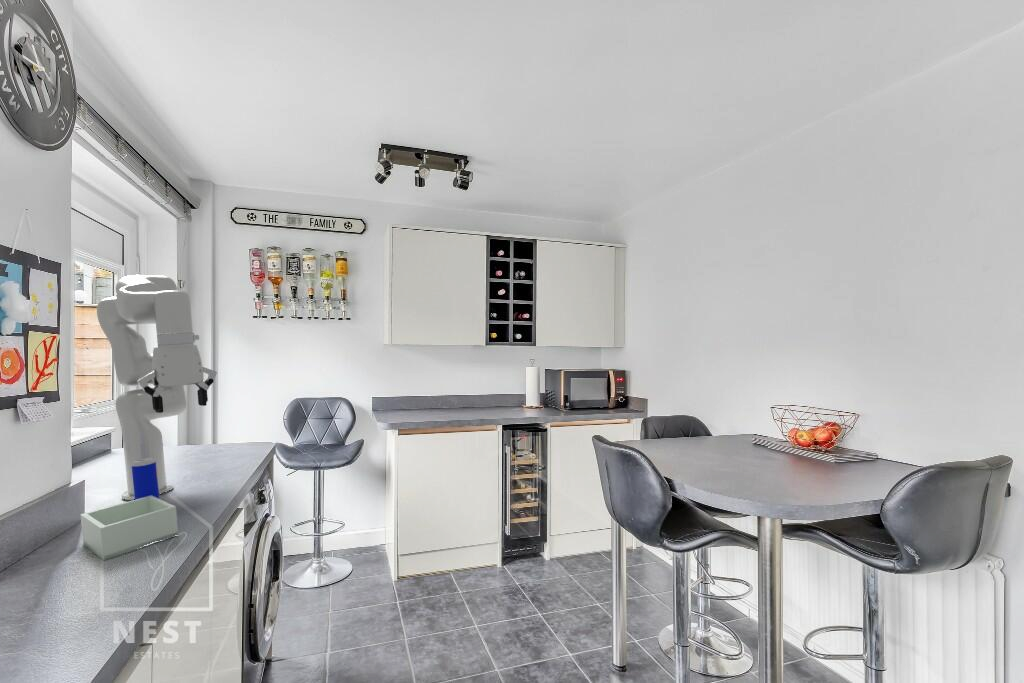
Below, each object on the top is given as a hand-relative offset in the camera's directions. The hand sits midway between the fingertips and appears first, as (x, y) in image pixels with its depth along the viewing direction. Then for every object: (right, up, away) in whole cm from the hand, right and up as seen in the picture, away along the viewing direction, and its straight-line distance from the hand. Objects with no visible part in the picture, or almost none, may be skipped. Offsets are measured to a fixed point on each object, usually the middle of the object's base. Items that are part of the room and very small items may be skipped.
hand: (181, 408), depth 127 cm
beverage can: (-13, -29, +6) cm, 32 cm away
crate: (-6, -29, -9) cm, 31 cm away
